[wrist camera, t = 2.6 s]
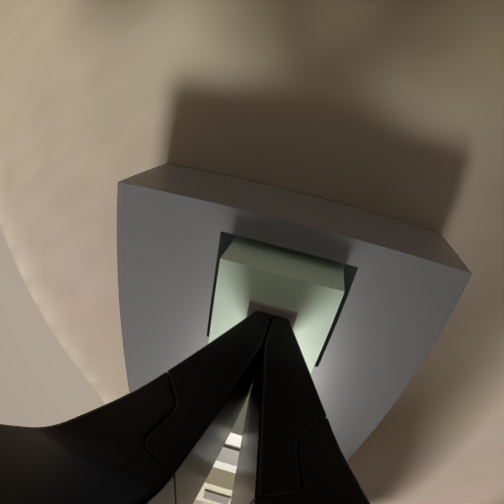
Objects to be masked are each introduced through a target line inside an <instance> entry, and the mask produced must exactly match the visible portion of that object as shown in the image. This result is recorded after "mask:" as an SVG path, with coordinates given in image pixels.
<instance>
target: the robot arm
mask: <svg viewBox="0 0 504 504" xmlns="http://www.w3.org/2000/svg"><path fill="white" fill-rule="evenodd" d="M271 318H272V319H271ZM252 383H253V384H252ZM251 386H252V387H251ZM250 389H251V391H250ZM249 392H250V394H249ZM248 395H249V399H248V404H247V410H246V416H245V422H244V428H243V434H242V440H241V446H240V451H239V457H238V463H237V468H236V474H235V480H234V485H233V491H232V496H231V502H230V504H370V502H369V501H368V499H367V497H366V495H365V494H364V492H363V490H362V488H361V487H360V485H359V483H358V481H357V479H356V478H355V476H354V474H353V472H352V471H351V469H350V467H349V465H348V463H347V461H346V459H345V457H344V455H343V453H342V451H341V449H340V447H339V445H338V442H337V440H336V438H335V435H334V433H333V430H332V428H331V425H330V423H329V420H328V418H326V417H327V415H326V413H325V410H324V408H323V405H322V402H321V400H320V397H319V395H318V392H317V390H316V387H315V385H314V382H313V379H312V377H311V374H310V372H309V369H308V367H307V364H306V362H305V359H304V357H303V354H302V352H301V349H300V346H299V344H298V341H297V339H296V336H295V334H294V331H293V329H292V326H291V324H290V321H289V320H288V319H287V318H283V317H280V316H276V315H274V316H271V314H268V313H265V312H261V311H255V312H253V313H252V314H251V315H249V316H248V317H246V318H245V319H243V320H242V321H241V322H239V323H238V324H236V325H235V326H233V327H232V328H231V329H229V330H228V331H226V332H225V333H223V334H222V335H220V336H219V337H217V338H216V339H215V340H213V341H212V342H210V343H209V344H207V345H206V346H204V347H203V348H201V349H200V350H198V351H197V352H195V353H194V354H192V355H191V356H189V357H188V358H186V359H185V360H183V361H182V362H180V363H179V364H177V365H176V366H174V367H173V368H171V369H170V370H168V371H167V372H165V373H163V374H162V375H160V376H158V377H157V378H155V379H154V380H152V381H150V382H149V383H147V384H145V385H144V386H142V387H140V388H139V389H137V390H135V391H133V392H131V393H129V394H127V395H125V396H123V397H121V398H119V399H117V400H115V401H113V402H110V403H108V404H106V405H104V406H101V407H99V408H97V409H94V410H92V411H90V412H88V413H85V414H83V415H80V416H78V417H76V418H74V419H71V420H68V421H66V422H63V423H60V424H56V425H52V426H47V427H38V428H37V427H36V428H35V427H21V426H11V425H2V424H0V504H193V503H194V501H195V499H196V497H197V495H198V493H199V492H200V490H201V488H202V486H203V484H204V482H205V481H206V479H207V477H208V475H209V473H210V471H211V469H212V467H213V465H214V463H215V462H216V460H217V458H218V456H219V454H220V452H221V450H222V448H223V446H224V444H225V442H226V440H227V438H228V436H229V434H230V432H231V430H232V428H233V426H234V424H235V422H236V420H237V418H238V416H239V414H240V412H241V410H242V408H243V406H244V404H245V402H246V399H247V397H248Z"/></svg>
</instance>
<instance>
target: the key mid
mask: <svg viewBox="0 0 504 504" xmlns="http://www.w3.org/2000/svg"><path fill="white" fill-rule="evenodd" d="M252 384H253V383H252ZM251 387H252V386H251ZM250 391H251V389H250ZM249 394H250V392H249ZM248 399H249V395H248V397H247V399H246V402H245V404H244V406H243V408H242V410H241V412H240V414H239V416H238V418H237V420H236V422H235V424H234V426H233V428H232V430H231V432H230V434H229V436H228V438H227V440H226V442H225V444H224V446H223V448H222V450H221V452H220V454H219V456H218V458H217V460H216V462H215V463H214V465H213V467H215V468H218V469H222V470H225V471H228V472H232V473H235V474H236V468H237V463H238V457H239V451H240V446H241V440H242V434H243V428H244V422H245V416H246V410H247V404H248Z"/></svg>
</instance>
